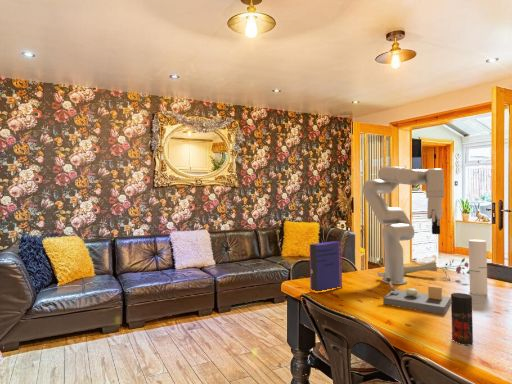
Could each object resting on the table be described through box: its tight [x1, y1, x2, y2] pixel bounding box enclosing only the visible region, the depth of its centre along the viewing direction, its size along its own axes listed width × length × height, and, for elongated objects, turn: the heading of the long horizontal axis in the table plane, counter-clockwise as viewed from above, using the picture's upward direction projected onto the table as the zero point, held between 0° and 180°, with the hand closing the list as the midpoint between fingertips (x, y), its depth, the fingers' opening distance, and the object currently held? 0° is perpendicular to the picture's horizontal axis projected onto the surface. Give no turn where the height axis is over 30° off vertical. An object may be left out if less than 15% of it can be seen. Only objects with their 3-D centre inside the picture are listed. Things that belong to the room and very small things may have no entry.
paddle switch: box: [427, 284, 443, 300], centre depth 151 cm, size 5×2×5 cm, turn 53°
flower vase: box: [404, 257, 469, 280], centre depth 200 cm, size 12×12×35 cm
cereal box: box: [309, 240, 343, 291], centre depth 180 cm, size 17×5×24 cm, turn 123°
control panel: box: [382, 288, 451, 316], centre depth 154 cm, size 24×16×4 cm, turn 53°
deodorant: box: [450, 292, 474, 345], centre depth 116 cm, size 6×6×15 cm
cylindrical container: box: [468, 239, 488, 296], centre depth 169 cm, size 7×7×25 cm
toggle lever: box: [386, 277, 395, 291], centre depth 161 cm, size 2×2×6 cm
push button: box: [405, 287, 418, 296], centre depth 155 cm, size 4×4×2 cm
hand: (436, 233), depth 166 cm, fingers closed
